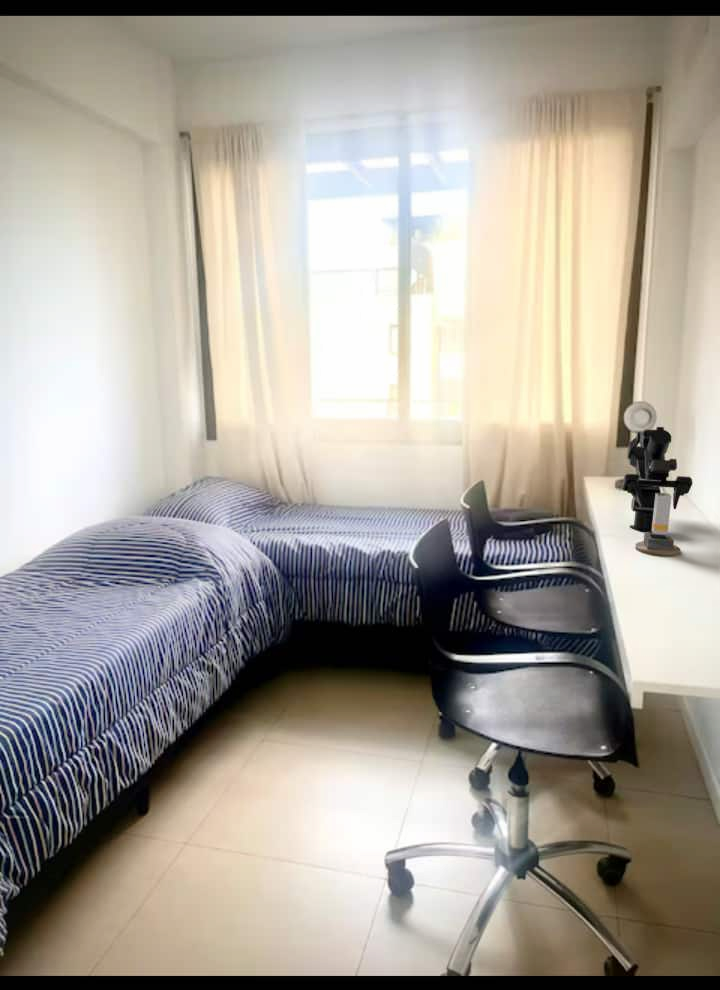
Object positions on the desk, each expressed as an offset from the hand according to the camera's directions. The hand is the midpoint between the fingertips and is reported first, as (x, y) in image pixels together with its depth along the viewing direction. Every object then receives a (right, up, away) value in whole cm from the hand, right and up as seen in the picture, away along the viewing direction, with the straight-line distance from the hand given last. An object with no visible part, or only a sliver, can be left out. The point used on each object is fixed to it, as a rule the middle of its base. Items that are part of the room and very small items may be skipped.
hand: (658, 507), depth 202 cm
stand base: (-1, -12, -2) cm, 13 cm away
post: (-1, -7, -3) cm, 8 cm away
